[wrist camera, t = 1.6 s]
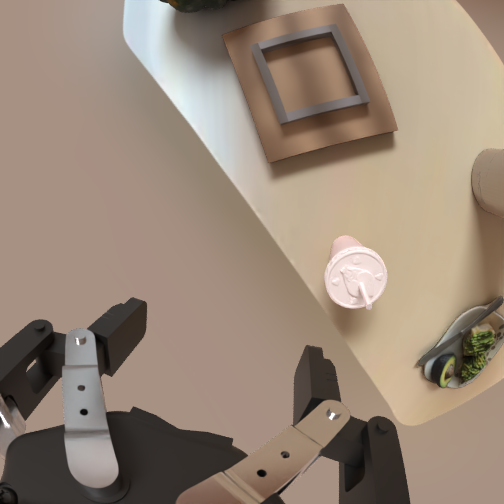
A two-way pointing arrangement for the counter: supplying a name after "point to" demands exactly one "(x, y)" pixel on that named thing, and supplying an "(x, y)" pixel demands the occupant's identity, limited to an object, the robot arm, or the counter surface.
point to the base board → (309, 81)
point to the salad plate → (465, 347)
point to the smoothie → (354, 274)
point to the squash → (194, 4)
